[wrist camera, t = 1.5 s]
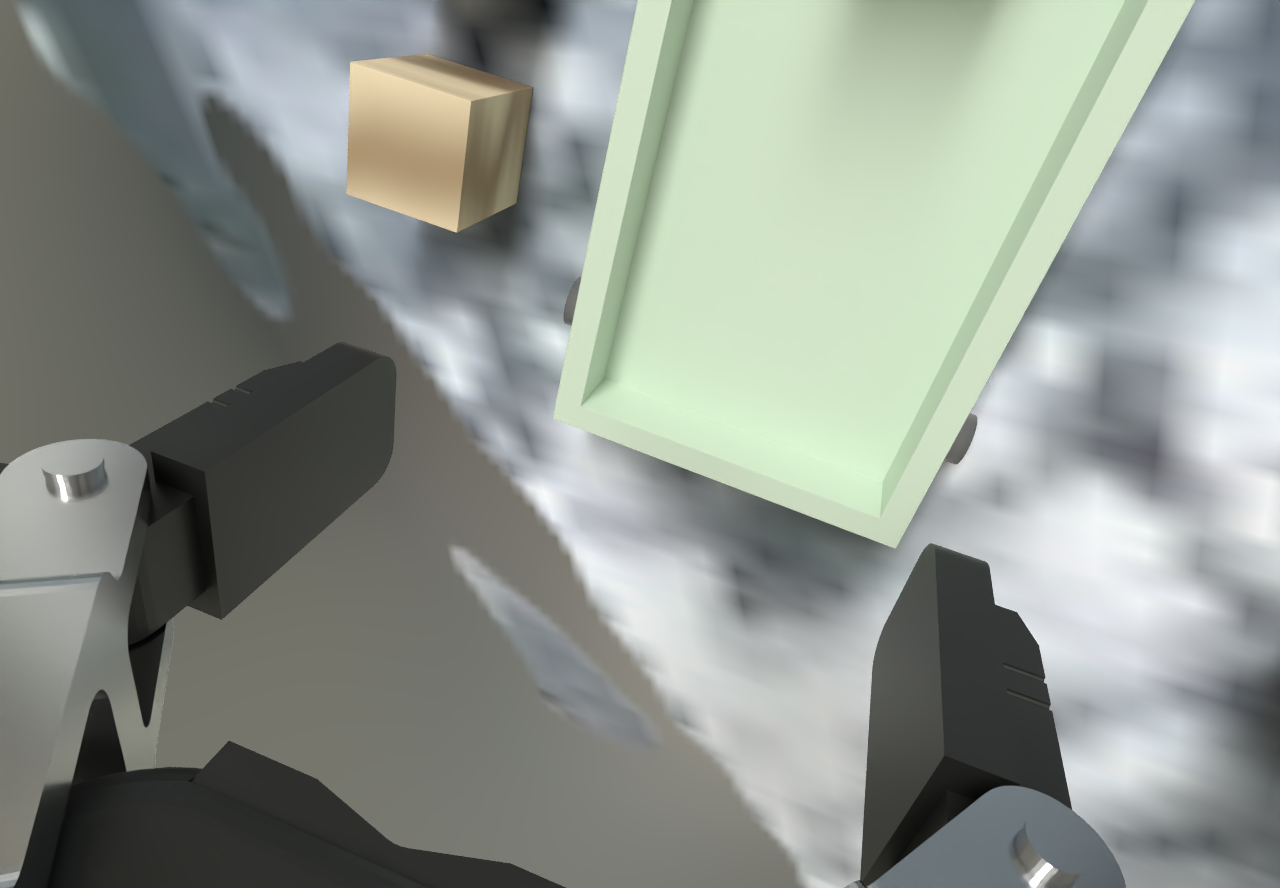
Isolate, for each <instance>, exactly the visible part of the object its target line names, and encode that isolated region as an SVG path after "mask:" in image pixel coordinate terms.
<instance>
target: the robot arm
mask: <svg viewBox="0 0 1280 888" xmlns="http://www.w3.org/2000/svg"><path fill="white" fill-rule="evenodd" d="M395 392H396V367H395V364H394V362H393V360H392V359H391V358H389V357H387V356H384V355H381V354H378V353H376V352H372V351H369V350H367V349H364V348H361V347H358V346H355V345H352V344H349V343H346V342H340V343H337V344H335V345H333V346H331V347H330V348H328V349H326V350H324V351H323V352H321V353H319V354H317V355H316V356H314V357H312V358H311V359H309V360H307V361H305V362H300V361H299V362H296V363H292V364H288V365H284V366H280V367H276V368H272V369H268V370H264V371H262V372H260V373H259V374H257V375H255V376H253V377H251V378H250V379H248V380H246V381H244V382H242V383H241V384H239V385H237V386H236V389H235V390H233V389H230V390H228V391H226V392H224V393H223V394H221V395H219V396H217V397H215V398H214V400H213V402H212V403H210V402H206V403H204V404H203V405H201V406H199V407H197V408H195V409H194V410H192V411H190V412H188V413H187V414H185V415H183V416H181V417H180V418H177V419H176V420H174V421H172V422H170V423H168V424H166V425H165V426H163V427H161V428H159V429H158V430H156V431H154V432H152V433H150V434H148V435H147V436H145V437H143V438H141V439H139V440H138V441H136V442H134V443H132V444H131V445H125V444H123V443H119V442H115V441H110V440H101V439H79V440H70V441H63V442H58V443H54V444H50V445H47V446H43V447H40V448H37V449H35V450H32V451H30V452H28V453H26V454H24V455H22V456H20V457H18V458H17V459H15V460H14V461H13V462H11V463H10V464H4V463H0V888H565V887H563V886H561V885H558V884H556V883H554V882H551V881H549V880H547V879H544V878H542V877H540V876H538V875H536V874H533V873H531V872H529V871H526V870H524V869H522V868H519V867H517V866H515V865H513V864H510V863H503V862H496V861H490V860H483V859H476V858H469V857H463V856H455V855H449V854H442V853H436V852H429V851H423V850H416V849H409V848H405V847H401V846H398V845H396V844H393V843H392V842H391V841H389V840H388V839H386V838H385V837H384V836H383V835H382V834H381V833H379V832H378V831H377V830H376V829H375V828H374V827H373V826H371V825H370V824H369V823H368V822H367V821H365V820H364V819H363V818H362V817H361V816H360V815H358V814H357V813H356V812H355V811H354V810H353V809H351V808H350V807H349V806H348V805H347V804H346V803H344V802H343V801H342V800H341V799H340V798H338V797H337V796H336V795H335V794H334V793H333V792H331V791H330V790H329V789H328V788H327V787H326V786H324V785H323V784H322V783H321V782H319V780H317V779H315V778H313V777H311V776H309V775H306V774H304V773H302V772H300V771H297V770H295V769H293V768H290V767H288V766H286V765H284V764H281V763H279V762H277V761H274V760H272V759H270V758H267V757H265V756H263V755H261V754H258V753H256V752H254V751H251V750H249V749H247V748H244V747H242V746H240V745H238V744H235V743H233V742H231V741H228V742H227V744H225V745H224V747H223V748H222V749H221V750H220V751H219V752H218V753H217V754H216V755H215V756H214V757H213V758H212V759H211V760H210V762H209V763H208V764H207V765H206V766H205V767H204V768H203V769H199V768H182V767H164V768H155V758H156V747H157V740H158V733H159V727H160V720H161V714H162V707H163V701H164V694H165V688H166V680H167V675H168V668H169V661H170V655H171V648H172V642H173V634H174V633H173V632H174V631H173V630H174V629H173V623H172V618H173V617H174V616H175V615H176V614H177V613H179V612H180V611H181V610H182V609H183V608H185V607H186V606H190V607H192V608H195V609H197V610H200V611H202V612H204V613H207V614H209V615H212V616H214V617H216V618H219V619H221V620H222V619H223V618H224V617H225V616H226V615H227V614H228V613H230V612H231V611H232V610H233V609H234V608H236V607H237V606H238V605H239V604H240V603H241V602H242V601H243V600H245V599H246V598H247V597H248V596H249V595H250V594H251V593H252V592H254V591H255V590H256V589H257V588H258V587H259V586H260V585H262V584H263V583H264V582H265V581H266V580H267V579H268V578H270V577H271V576H272V575H273V574H274V573H275V572H276V571H277V570H279V569H280V568H281V567H282V566H283V565H284V564H285V563H287V562H288V561H289V560H290V559H291V558H292V557H293V556H294V555H296V554H297V553H298V552H299V551H300V550H301V549H302V548H304V547H305V546H306V545H307V544H308V543H309V542H310V541H311V540H313V539H314V538H315V537H316V536H317V535H318V534H319V533H320V532H322V531H323V530H324V529H325V528H326V527H327V526H328V525H330V524H331V523H332V522H333V521H334V520H335V519H336V518H338V517H339V516H340V515H341V514H342V513H343V512H344V511H345V510H347V509H348V508H349V507H350V506H351V505H352V504H353V503H355V502H356V501H357V500H358V499H359V498H360V497H361V496H362V495H364V494H365V493H366V492H367V491H368V490H369V489H370V488H371V487H373V486H374V485H375V484H376V483H377V482H378V480H379V479H380V478H381V477H382V475H383V474H384V472H385V470H386V468H387V466H388V464H389V461H390V458H391V455H392V450H393V443H394V418H395V417H394V416H395V394H396V393H395ZM1044 679H1045V674H1044V669H1043V664H1042V659H1041V654H1040V649H1039V645H1038V644H1037V642H1036V641H1035V639H1034V637H1033V636H1032V634H1031V633H1030V631H1029V630H1028V628H1027V627H1026V625H1025V624H1024V622H1023V621H1022V619H1021V618H1020V616H1019V615H1018V613H1017V612H1014V611H1012V610H1009V609H1006V608H1003V607H1000V606H997V605H995V603H994V596H993V589H992V582H991V575H990V568H989V565H988V563H987V562H985V561H982V560H979V559H976V558H973V557H970V556H967V555H964V554H961V553H958V552H955V551H952V550H950V549H947V548H944V547H941V546H938V545H935V544H929V545H928V546H926V548H925V549H924V550H923V552H922V554H921V555H920V557H919V559H918V561H917V563H916V565H915V567H914V569H913V571H912V573H911V575H910V577H909V578H908V580H907V582H906V584H905V586H904V588H903V590H902V592H901V594H900V596H899V598H898V600H897V602H896V604H895V606H894V608H893V610H892V611H891V613H890V615H889V617H888V619H887V621H886V623H885V625H884V628H883V630H882V633H881V635H880V638H879V641H878V644H877V648H876V652H875V656H874V661H873V669H872V685H871V702H870V720H869V737H868V754H867V772H866V789H865V806H864V824H863V841H862V858H861V876H860V880H858V881H855V882H853V883H851V884H849V885H848V886H846V887H845V888H1126V886H1125V881H1124V878H1123V875H1122V872H1121V870H1120V867H1119V865H1118V863H1117V862H1116V860H1115V858H1114V856H1113V854H1112V853H1111V851H1110V850H1109V848H1108V847H1107V845H1106V844H1105V842H1104V841H1103V840H1102V839H1101V838H1100V836H1099V835H1098V834H1097V833H1096V832H1095V830H1094V829H1093V828H1092V827H1091V826H1090V825H1088V824H1087V823H1086V822H1085V821H1084V820H1083V819H1082V818H1081V817H1080V816H1079V815H1077V814H1076V813H1075V812H1074V811H1072V807H1071V802H1070V797H1069V792H1068V787H1067V782H1066V777H1065V772H1064V767H1063V762H1062V758H1061V753H1060V748H1059V743H1058V738H1057V733H1056V728H1055V723H1054V718H1053V713H1052V711H1050V710H1049V707H1050V705H1051V703H1050V698H1049V693H1048V688H1047V684H1045V683H1044Z"/></svg>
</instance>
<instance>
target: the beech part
mask: <svg viewBox="0 0 1280 888" xmlns="http://www.w3.org/2000/svg"><path fill="white" fill-rule="evenodd" d="M532 93H533V87H530V86H527V85H524V84H521V83H518V82H514V81H511V80H508V79H505V78H502V77H499V76H496V75H493V74H489V73H486V72H483V71H480V70H477V69H474V68H471V67H467V66H464V65H461V64H458V63H455V62H452V61H449V60H445V59H442V58H439V57H436V56H433V55H430V54H421V55H412V56H402V57H392V58H383V59H373V60H363V61H354V62H350V93H349V130H348V167H347V194H348V195H351V196H354V197H357V198H359V199H362V200H365V201H368V202H371V203H374V204H377V205H379V206H382V207H385V208H388V209H391V210H394V211H396V212H399V213H402V214H405V215H408V216H411V217H414V218H416V219H419V220H422V221H425V222H428V223H431V224H433V225H436V226H439V227H442V228H445V229H448V230H451V231H453V232H456V233H457V232H459V231H461V230H464V229H466V228H468V227H470V226H472V225H474V224H476V223H478V222H480V221H482V220H484V219H486V218H488V217H490V216H492V215H494V214H496V213H498V212H500V211H502V210H504V209H506V208H508V207H510V206H512V205H514V204H516V202H517V195H518V188H519V181H520V175H521V168H522V161H523V154H524V147H525V141H526V134H527V127H528V120H529V113H530V106H531V100H532Z"/></svg>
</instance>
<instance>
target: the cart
mask: <svg viewBox="0 0 1280 888" xmlns="http://www.w3.org/2000/svg"><path fill="white" fill-rule="evenodd" d="M1194 2H1195V0H638V3H637V7H636V12H635V17H634V22H633V27H632V32H631V37H630V42H629V47H628V52H627V57H626V61H625V66H624V71H623V76H622V81H621V86H620V91H619V96H618V101H617V106H616V111H615V116H614V120H613V125H612V130H611V135H610V140H609V145H608V150H607V155H606V160H605V165H604V170H603V174H602V179H601V184H600V189H599V194H598V199H597V204H596V209H595V214H594V219H593V224H592V228H591V233H590V238H589V243H588V248H587V253H586V258H585V263H584V268H583V273H582V277H579V278H578V279H577V280H576V281H575V283H574V284H573V286H572V288H571V290H570V292H569V295H568V298H567V301H566V304H565V309H564V322H565V324H568V325H571V326H572V327H571V332H570V337H569V341H568V346H567V351H566V356H565V361H564V366H563V371H562V376H561V381H560V386H559V391H558V395H557V400H556V405H555V410H554V415H553V419H555V420H558V421H560V422H563V423H566V424H568V425H571V426H574V427H576V428H579V429H581V430H584V431H587V432H589V433H592V434H595V435H597V436H600V437H603V438H605V439H608V440H610V441H613V442H616V443H618V444H621V445H624V446H626V447H629V448H631V449H634V450H637V451H639V452H642V453H645V454H647V455H650V456H653V457H655V458H658V459H660V460H663V461H666V462H668V463H671V464H674V465H676V466H679V467H682V468H684V469H687V470H689V471H692V472H695V473H697V474H700V475H703V476H705V477H708V478H710V479H713V480H716V481H718V482H721V483H724V484H726V485H729V486H732V487H734V488H737V489H739V490H742V491H745V492H747V493H750V494H753V495H755V496H758V497H760V498H763V499H766V500H768V501H771V502H774V503H776V504H779V505H782V506H784V507H787V508H789V509H792V510H795V511H797V512H800V513H803V514H805V515H808V516H811V517H813V518H816V519H818V520H821V521H824V522H826V523H829V524H832V525H834V526H837V527H839V528H842V529H845V530H847V531H850V532H853V533H855V534H858V535H861V536H863V537H866V538H868V539H871V540H874V541H876V542H879V543H882V544H884V545H887V546H890V547H892V548H896V547H897V545H898V543H899V541H900V539H901V538H902V536H903V534H904V532H905V530H906V528H907V527H908V525H909V523H910V521H911V519H912V517H913V516H914V514H915V512H916V510H917V508H918V506H919V505H920V503H921V501H922V499H923V497H924V495H925V494H926V492H927V490H928V488H929V486H930V484H931V483H932V481H933V479H934V477H935V475H936V474H937V472H938V470H939V468H940V466H941V464H942V463H943V461H944V460H945V461H948V462H950V463H953V464H958V463H959V462H960V461H961V460H962V458H963V457H964V455H965V454H966V452H967V450H968V448H969V446H970V444H971V442H972V439H973V436H974V433H975V430H976V426H977V417H976V416H975V415H972V414H970V411H971V410H972V408H973V406H974V404H975V402H976V400H977V399H978V397H979V395H980V393H981V391H982V389H983V388H984V386H985V384H986V382H987V380H988V378H989V377H990V375H991V373H992V371H993V369H994V367H995V366H996V364H997V362H998V360H999V358H1000V357H1001V355H1002V353H1003V351H1004V349H1005V347H1006V346H1007V344H1008V342H1009V340H1010V338H1011V336H1012V335H1013V333H1014V331H1015V329H1016V327H1017V325H1018V324H1019V322H1020V320H1021V318H1022V316H1023V314H1024V313H1025V311H1026V309H1027V307H1028V305H1029V303H1030V302H1031V300H1032V298H1033V296H1034V294H1035V293H1036V291H1037V289H1038V287H1039V285H1040V283H1041V282H1042V280H1043V278H1044V276H1045V274H1046V272H1047V271H1048V269H1049V267H1050V265H1051V263H1052V261H1053V260H1054V258H1055V256H1056V254H1057V252H1058V250H1059V249H1060V247H1061V245H1062V243H1063V241H1064V240H1065V238H1066V236H1067V234H1068V232H1069V230H1070V229H1071V227H1072V225H1073V223H1074V221H1075V219H1076V218H1077V216H1078V214H1079V212H1080V210H1081V208H1082V207H1083V205H1084V203H1085V201H1086V199H1087V197H1088V196H1089V194H1090V192H1091V190H1092V188H1093V186H1094V185H1095V183H1096V181H1097V179H1098V177H1099V176H1100V174H1101V172H1102V170H1103V168H1104V166H1105V165H1106V163H1107V161H1108V159H1109V157H1110V155H1111V154H1112V152H1113V150H1114V148H1115V146H1116V144H1117V143H1118V141H1119V139H1120V137H1121V135H1122V133H1123V132H1124V130H1125V128H1126V126H1127V124H1128V122H1129V121H1130V119H1131V117H1132V115H1133V113H1134V112H1135V110H1136V108H1137V106H1138V104H1139V102H1140V101H1141V99H1142V97H1143V95H1144V93H1145V91H1146V90H1147V88H1148V86H1149V84H1150V82H1151V80H1152V79H1153V77H1154V75H1155V73H1156V71H1157V69H1158V68H1159V66H1160V64H1161V62H1162V60H1163V59H1164V57H1165V55H1166V53H1167V51H1168V49H1169V48H1170V46H1171V44H1172V42H1173V40H1174V38H1175V37H1176V35H1177V33H1178V31H1179V29H1180V27H1181V26H1182V24H1183V22H1184V20H1185V18H1186V16H1187V15H1188V13H1189V11H1190V9H1191V7H1192V5H1193V4H1194Z"/></svg>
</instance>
